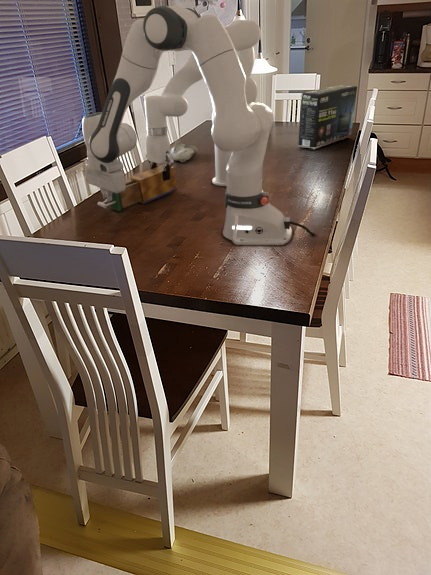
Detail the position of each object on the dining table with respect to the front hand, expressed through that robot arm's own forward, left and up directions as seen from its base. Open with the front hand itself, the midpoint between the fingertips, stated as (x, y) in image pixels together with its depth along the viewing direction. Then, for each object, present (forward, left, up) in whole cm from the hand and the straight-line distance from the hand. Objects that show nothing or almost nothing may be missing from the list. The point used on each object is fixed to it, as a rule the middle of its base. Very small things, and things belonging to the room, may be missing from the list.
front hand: (108, 199), depth 167 cm
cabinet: (-10, -20, -5) cm, 23 cm away
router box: (-69, -114, -5) cm, 133 cm away
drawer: (-3, -7, -4) cm, 9 cm away
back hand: (-12, -23, +2) cm, 26 cm away
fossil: (0, -74, -5) cm, 74 cm away
